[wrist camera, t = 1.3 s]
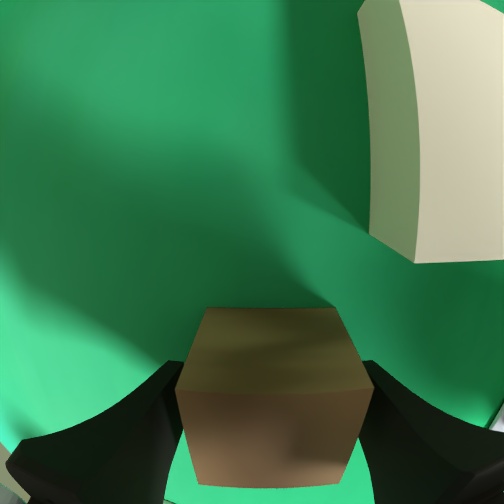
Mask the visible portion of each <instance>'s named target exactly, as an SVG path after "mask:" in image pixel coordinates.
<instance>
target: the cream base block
mask: <svg viewBox="0 0 504 504" xmlns="http://www.w3.org/2000/svg"><path fill="white" fill-rule="evenodd" d="M357 17H358V22H359V28H360V35H361V41H362V48H363V56H364V64H365V73H366V83H367V95H368V108H369V125H370V156H371V192H370V223H369V235H371V236H373V237H374V238H376V239H377V240H379V241H381V242H382V243H384V244H385V245H387V246H388V247H390V248H392V249H393V250H395V251H396V252H398V253H399V254H401V255H402V256H404V257H405V258H407V259H408V260H410V261H411V262H413V263H438V262H463V261H486V260H504V14H503V13H501V12H499V11H498V10H496V9H494V8H492V7H491V6H489V5H487V4H485V3H483V2H481V1H479V0H365V1H364V3H363V4H362V6H361V8H360V9H359V11H358V12H357Z"/></svg>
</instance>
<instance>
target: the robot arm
mask: <svg viewBox="0 0 504 504" xmlns="http://www.w3.org/2000/svg"><path fill="white" fill-rule="evenodd" d="M362 363H363V365H364V367H365V369H366V371H367V373H368V375H369V378H370V380H371V382H372V384H373V386H374V390H373V393H372V397H371V400H370V403H369V406H368V409H367V412H366V415H365V418H364V421H363V424H362V427H361V430H360V433H359V436H358V437H359V440H360V443H361V446H362V449H363V452H364V455H365V458H366V461H367V464H368V467H369V471H370V476H371V481H372V487H373V493H374V500H375V504H504V492H503V491H504V403H503V405H502V407H501V409H500V411H499V412H498V414H497V416H496V417H495V419H494V421H493V422H492V424H491V426H490V427H489V429H487V428H483V427H479V426H476V425H473V424H470V423H468V422H465V421H463V420H460V419H458V418H455V417H453V416H451V415H449V414H447V413H445V412H443V411H441V410H440V409H438V408H436V407H434V406H432V405H431V404H429V403H428V402H426V401H425V400H423V399H422V398H420V397H419V396H417V395H416V394H414V393H413V392H412V391H410V390H409V389H408V388H406V387H405V386H404V385H402V384H401V383H400V382H399V381H397V380H396V379H395V378H394V377H393V376H391V375H390V374H389V373H388V372H387V371H385V370H384V369H383V368H382V367H381V366H379V365H378V364H377V363H376V362H374V361H373V360H368V361H362ZM183 367H184V362H180V361H169V360H168V361H167V362H166V363H165V364H164V365H163V366H161V367H160V368H159V369H158V370H157V371H156V372H155V373H154V374H153V375H151V376H150V377H149V378H148V379H147V380H146V381H145V382H143V383H142V384H141V385H140V386H139V387H137V388H136V389H135V390H134V391H133V392H131V393H130V394H129V395H127V396H126V397H125V398H123V399H122V400H121V401H119V402H118V403H116V404H115V405H113V406H112V407H110V408H109V409H107V410H105V411H104V412H102V413H100V414H98V415H96V416H95V417H93V418H90V419H88V420H86V421H84V422H82V423H80V424H77V425H75V426H73V427H70V428H67V429H65V430H62V431H59V432H55V433H52V434H48V435H44V436H40V437H35V438H30V439H24V440H22V441H21V442H20V443H19V445H18V446H17V447H16V449H15V450H14V451H13V453H12V454H11V456H10V457H9V459H8V460H7V461H6V468H7V470H8V472H9V473H10V475H11V476H12V477H13V478H14V479H15V480H16V481H17V482H18V484H19V485H20V486H21V487H22V488H23V489H24V490H25V491H26V492H27V493H28V494H29V495H30V496H31V498H30V500H29V502H28V503H26V502H25V501H24V500H23V499H22V498H20V497H19V496H18V495H17V494H15V493H14V492H13V491H11V490H10V489H8V488H7V487H5V486H4V485H2V484H1V483H0V504H163V501H164V495H165V489H166V484H167V479H168V474H169V470H170V467H171V464H172V461H173V458H174V455H175V452H176V449H177V446H178V443H179V440H180V437H181V434H182V431H183V424H182V420H181V416H180V411H179V407H178V402H177V397H176V393H175V387H176V385H177V382H178V380H179V377H180V374H181V372H182V369H183Z"/></svg>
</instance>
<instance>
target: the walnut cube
mask: <svg viewBox="0 0 504 504" xmlns="http://www.w3.org/2000/svg"><path fill="white" fill-rule="evenodd" d="M373 390H374V386H373V384H372V382H371V380H370V378H369V375H368V373H367V371H366V369H365V367H364V365H363V363H362V361H361V358H360V356H359V354H358V352H357V350H356V348H355V346H354V344H353V342H352V340H351V338H350V336H349V334H348V332H347V330H346V328H345V326H344V324H343V322H342V320H341V318H340V316H339V314H338V312H337V310H336V308H335V307H323V308H226V307H207V308H206V311H205V313H204V316H203V318H202V321H201V323H200V326H199V328H198V331H197V333H196V336H195V338H194V341H193V344H192V346H191V349H190V351H189V354H188V356H187V359H186V361H185V364H184V367H183V369H182V372H181V374H180V377H179V380H178V382H177V385H176V387H175V393H176V397H177V402H178V407H179V411H180V416H181V420H182V424H183V428H184V433H185V437H186V441H187V445H188V448H189V452H190V456H191V460H192V463H193V467H194V470H195V474H196V477H197V481H198V484H200V485H209V486H221V487H236V488H294V487H310V486H321V485H330V484H338V483H339V482H340V480H341V478H342V476H343V473H344V471H345V469H346V466H347V464H348V461H349V459H350V457H351V454H352V451H353V449H354V446H355V444H356V441H357V438H358V436H359V433H360V430H361V427H362V424H363V421H364V418H365V415H366V412H367V409H368V406H369V403H370V400H371V397H372V393H373Z"/></svg>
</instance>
